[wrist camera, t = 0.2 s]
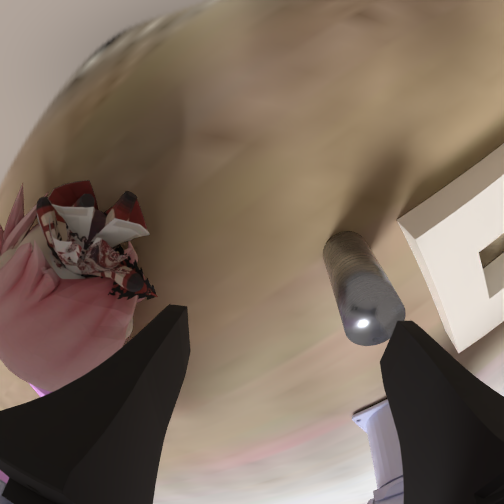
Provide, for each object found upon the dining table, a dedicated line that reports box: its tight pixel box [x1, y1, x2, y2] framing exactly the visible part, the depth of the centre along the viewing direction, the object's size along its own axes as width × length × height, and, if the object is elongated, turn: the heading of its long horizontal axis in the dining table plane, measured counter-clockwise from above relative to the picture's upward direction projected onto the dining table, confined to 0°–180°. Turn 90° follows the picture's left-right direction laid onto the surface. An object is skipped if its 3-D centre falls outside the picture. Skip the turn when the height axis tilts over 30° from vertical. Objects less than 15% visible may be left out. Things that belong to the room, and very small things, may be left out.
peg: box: [323, 232, 405, 346], centre depth 16 cm, size 3×3×7 cm
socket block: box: [397, 143, 504, 353], centre depth 17 cm, size 12×12×3 cm
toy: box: [0, 180, 158, 392], centre depth 16 cm, size 12×11×15 cm
